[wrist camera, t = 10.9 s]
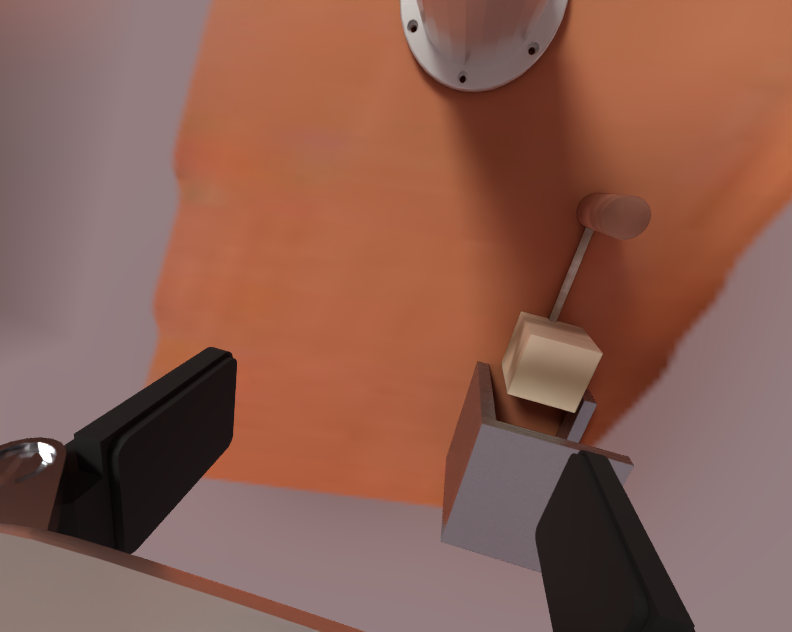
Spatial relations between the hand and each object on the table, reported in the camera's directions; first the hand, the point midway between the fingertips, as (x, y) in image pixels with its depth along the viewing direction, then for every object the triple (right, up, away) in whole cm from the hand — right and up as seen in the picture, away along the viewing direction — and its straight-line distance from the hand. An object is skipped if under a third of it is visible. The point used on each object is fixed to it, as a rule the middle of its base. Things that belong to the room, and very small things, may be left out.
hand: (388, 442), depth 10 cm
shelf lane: (+13, -8, +31) cm, 35 cm away
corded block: (+16, +6, +26) cm, 31 cm away
